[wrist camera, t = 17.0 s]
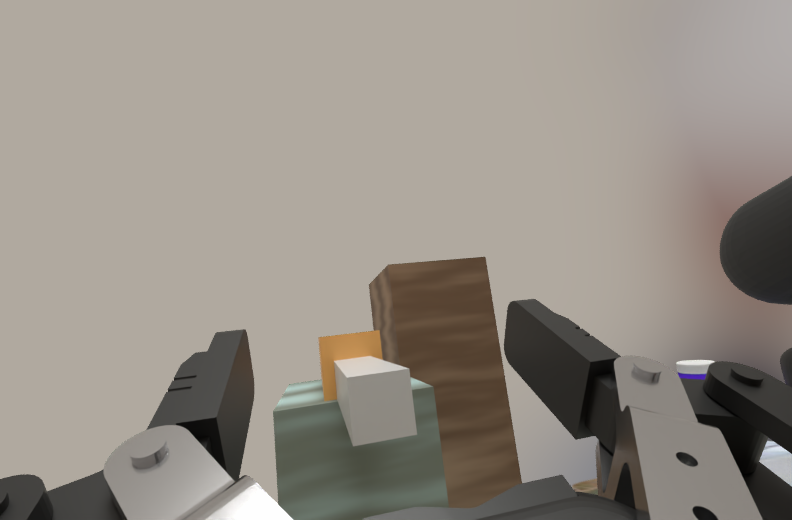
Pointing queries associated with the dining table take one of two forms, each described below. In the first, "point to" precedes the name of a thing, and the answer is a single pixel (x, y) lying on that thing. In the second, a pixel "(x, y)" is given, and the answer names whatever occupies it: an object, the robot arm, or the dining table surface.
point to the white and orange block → (367, 387)
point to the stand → (433, 406)
